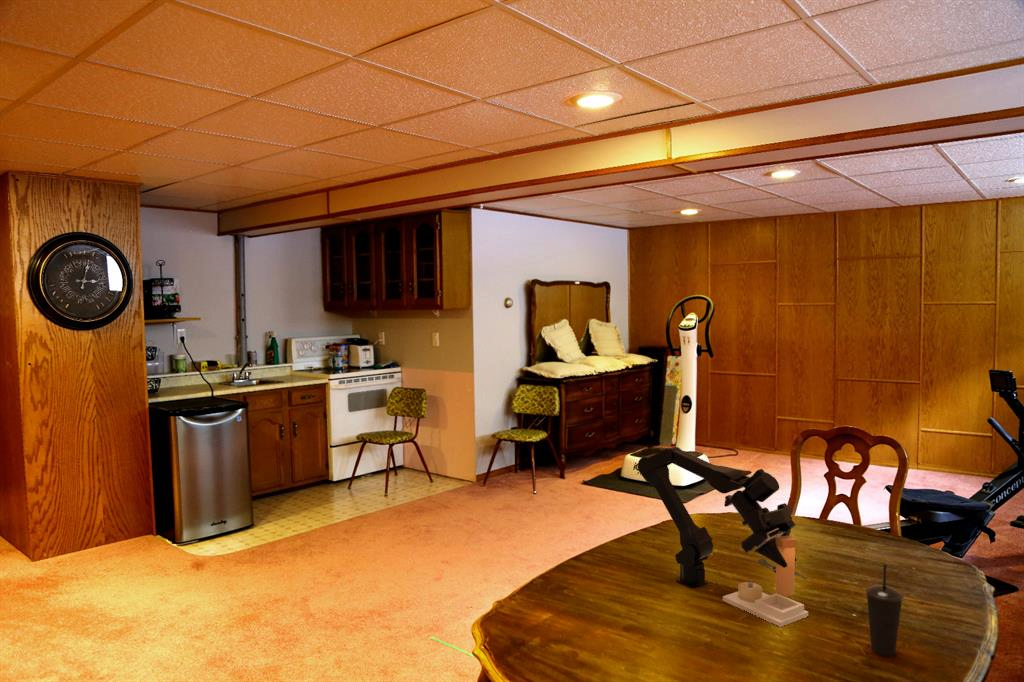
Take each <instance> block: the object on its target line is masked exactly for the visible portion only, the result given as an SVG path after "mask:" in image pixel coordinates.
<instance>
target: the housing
mask: <svg viewBox="0 0 1024 682" xmlns="http://www.w3.org/2000/svg"><path fill="white" fill-rule="evenodd" d="M722 601H723V602H724V601H725V603H727V604H729V605H731V606H734V607H735V608H737V607H738V608H737V609H739V608H740V609H739V610H742V611H744V610H745V612H746V611H747V612H746V613H748V612H749V614H750V613H751V615H752V614H753V616H755V615H756V616H755V617H757V618H759V617H760V618H759V619H761V618H762V620H763V619H764V621H765V620H766V622H768V623H769V624H772V623H773V624H772V625H774V624H775V625H774V626H776V625H777V626H776V627H778V626H779V628H781V627H784V625H785V626H786V625H789V624H792V623H795V622H797V620H798V621H800V620H802V618H803V619H805V618H808V617H809V611H807V610H805V604H803V603H801V602H799V601H796V600H793V599H791V598H789V597H786V596H785V595H781V594H779V593H777V592H775V593H772V594H770V595H769V594H767V593H765V592H763V586H762V585H760V584H758V583H755V582H752V581H744V582H740V583H739V584H738V590H737V591H735V592H732V593H728V594H726V595H723V596H722ZM807 616H808V617H807Z"/></svg>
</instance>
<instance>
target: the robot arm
mask: <svg viewBox="0 0 1024 682" xmlns="http://www.w3.org/2000/svg"><path fill="white" fill-rule="evenodd" d="M672 464H674V465H676V466H677V467H679V468H681V469H683V470H685V471H688V472H689V473H692V474H694V475H696V476H698V477H700V478H702V479H704V480H705V481H706V482H707V483H708V485H709V486H710V487H711V488H713V489H714V490H716V491H717V492H718V493H720V494H728V493H731V492H734V493H733V494H728V495H725V497H724V499H725V500H724V503H723V504H724V507H725V508H727V507H729V506H733V507H734V508H735V510H736V511H737V513H738V515H740V517H741V518H742V520H743V521H742V522H741V524H742V525H743V526H748V528H749V529H750V530H751V532H752V534H750V535H749V536H747V537H746V538H745V539H743V541H741V549H742V550H743V551H744V552H745V554H748V553H749V552H752V551H753V549H754V548H755V547H756V548H757V549H755V550H754V553H758V554H760V555H762V556H763V557H765V558H767V559H769V560H770V561H772V562H774V563H775V564H776V563H777V564H779V565H780V566H782V567H784V568H785V567H787V563H786V561H785V560H784V558H783V556H782V555H781V553H780V552H779V550H778V548H777V545H776V541H775V540H776V537H779V536H791V532H792V531H791V530H792V529H793V528H794V527H796V523H795V522H794V521H793V517H792V513H793V509H791V508H790V506H789V505H788V504H787V503H781V504H778V505H776V506H777V507H776V508H777V509H774V510H769V508H767V507H765V506H764V507H762V506H761V504H760V503H764V502H765V501H766V500H767V499H769V498H771V496H773V495H774V494H775V493H776V492H777V491H778V490H780V484H779V482H778V480H777V479H776V477H774V476H773V475H771V474H770V473H768V472H766V471H765V470H764V469H763V468H759V469H757V470H756V471H755V472H754V473H753V474H752V475H751V476H747V475H745V474H742V473H741V472H740V471H739V470H738V469H736V468H732V467H728V466H724V465H717V464H713V463H711V462H708V461H706V460H705V459H702V458H700V457H697V456H695V455H693V454H691V453H689V452H687V451H684V450H682V448H680V447H678V446H672V447H667V448H665V449H664V450H662V451H660V452H658V453H654V454H649V455H646V456H642V457H640V459H639V460H638V462H637V465H636V467H637V471H638V472H639V473H640V476H641V477H642V478H643V479H644V480H645V481H646V482H647V483H648V484H650V485H651V486H652V487H653V488H654V489H655V491H656V493H657V494H658V496H659V498H660V500H661V501H662V503H663V505H664V507H665V508H666V510H667V512H668V515H669V516H670V517H671V518H670V519H672V521H673V523H674V525H675V526H676V528H677V530H678V532H679V543H680V547H681V550H680V551H678V552H677V553H676V554H675V555H674V557H675V560H676V563H677V564H679V568H680V569H679V578H678V577H677V578H676V579H675V582H678V583H680V584H682V585H684V586H686V587H687V588H691V589H695V588H698V587H702V586H705V585H707V584H709V582H708V581H707V580H706V569H705V563H704V562H703V561H707V560H708V558H709V557H710V555H711V554H712V553H713V550H714V544H713V537H712V536H710V534H709V532H708V529H707V528H706V527H705V526H702V527H699V526H698V525H696V524H695V522H694V521H693V518H692V517H691V515H690V513H689V512H688V510H687V507H686V506H685V504H684V503H683V501H682V499H681V498H680V495H679V494H678V492H677V491H676V489H675V487H674V485H673V483H672V481H671V479H670V469H669V466H670V465H672ZM742 488H744V489H743V490H740V489H742ZM759 502H760V503H759ZM796 562H797V557H795V563H796Z"/></svg>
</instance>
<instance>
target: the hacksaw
mask: <svg viewBox="0 0 1024 682" xmlns="http://www.w3.org/2000/svg"><path fill="white" fill-rule="evenodd" d="M759 562H761V563H762V564H761V563H760V564H761V565H763V564H764V565H763V566H765V565H766V566H767V567H766V566H765V567H766V568H768V567H769V568H770V569H769V568H768V569H769V570H771V569H773V570H772V571H773V572H774V573H776V572H775V571H776V569H774V568H776V565H774V566H772V565H771V564H770V563H768V562H767V560H766V559H764V558H759V559H758V563H759ZM795 575H796V576H797V575H798V577H799V576H801V577H802V578H801V577H800V578H801V579H803V578H804V579H803V580H805V579H809V578H807V577H805V576H804V575H802V574H801V573H799V572H797V571H796V570H795ZM810 580H813V579H810ZM828 584H829V585H828V586H832V585H833V587H834V586H835V585H834V584H832V583H828ZM835 588H836V589H837V586H835V587H834V589H835Z"/></svg>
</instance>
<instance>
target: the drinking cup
mask: <svg viewBox="0 0 1024 682" xmlns="http://www.w3.org/2000/svg"><path fill="white" fill-rule="evenodd" d="M887 566H888V565H887V564H883V565H882V584H875V585H870V586H867V587H866V588H865V594H866V600H867V611H868V623H869V624H868V625H869V636H870V637H869V638H870V648H871V650H872V652H874V653H875V654H877V655H880V656H884V657H893V656H894V655H896V649H897V642H898V633H899V627H900V625H899V624H900V618H901V610H902V603H903V600H904V594H903V592H901V591H900V590H898V589H895V588H893V587H891V586H888V585H887V569H888V567H887Z"/></svg>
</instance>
